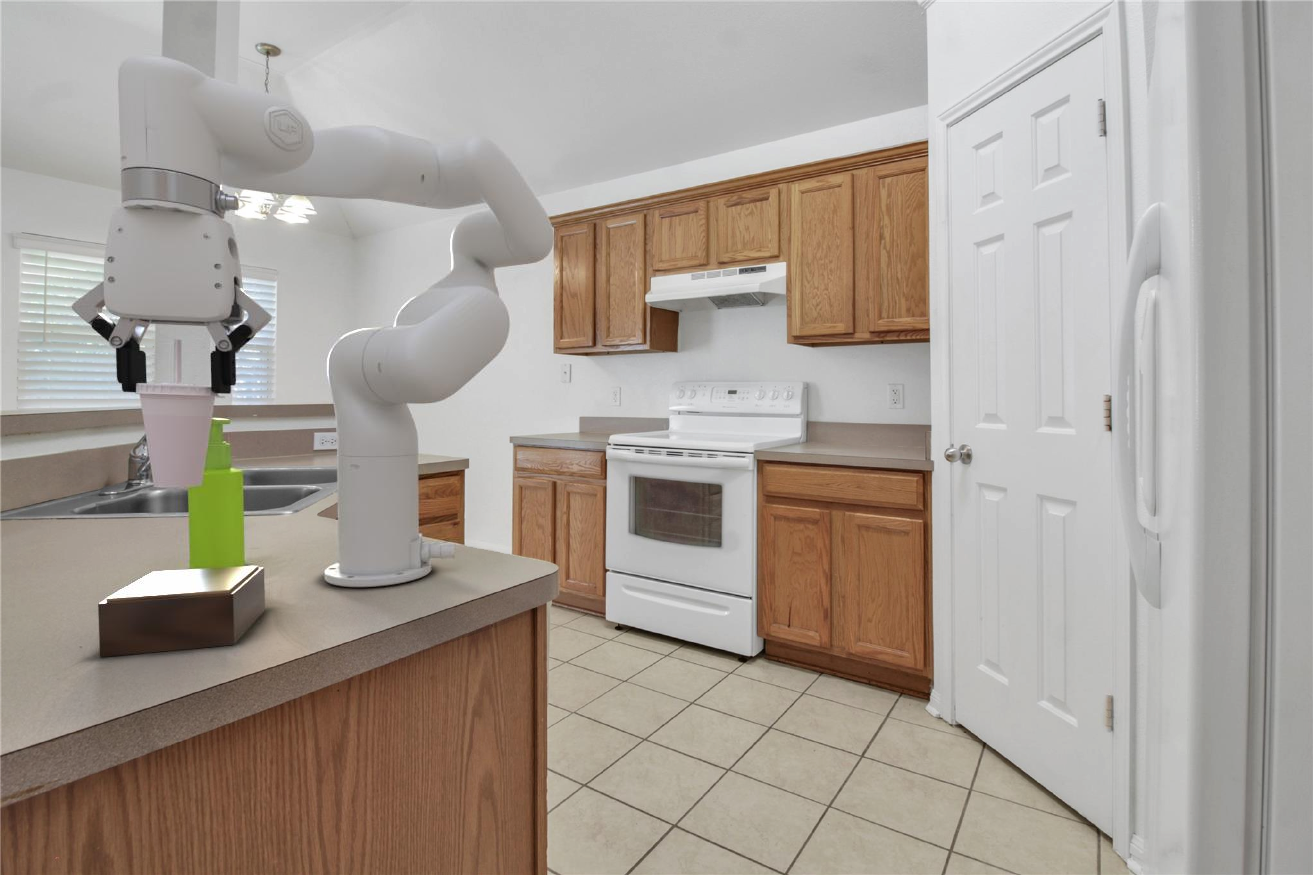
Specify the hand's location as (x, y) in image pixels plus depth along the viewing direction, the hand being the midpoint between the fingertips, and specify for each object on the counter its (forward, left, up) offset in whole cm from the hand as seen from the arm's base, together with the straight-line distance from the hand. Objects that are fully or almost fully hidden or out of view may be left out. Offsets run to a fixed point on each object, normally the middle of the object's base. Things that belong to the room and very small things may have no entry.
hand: (178, 391), depth 60 cm
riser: (-1, +1, -23) cm, 23 cm away
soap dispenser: (+5, -23, -23) cm, 33 cm away
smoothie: (0, 0, -9) cm, 9 cm away
